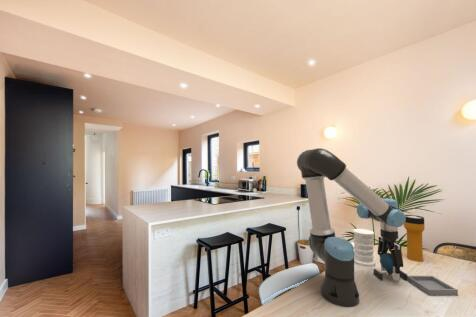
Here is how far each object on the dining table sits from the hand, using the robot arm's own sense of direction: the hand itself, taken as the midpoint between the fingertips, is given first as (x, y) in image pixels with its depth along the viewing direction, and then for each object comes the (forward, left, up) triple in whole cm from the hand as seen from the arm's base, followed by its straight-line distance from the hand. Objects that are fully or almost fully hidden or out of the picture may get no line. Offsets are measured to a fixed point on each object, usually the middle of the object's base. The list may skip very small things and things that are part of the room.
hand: (389, 274), depth 113 cm
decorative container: (-3, +18, -2) cm, 18 cm away
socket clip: (0, 0, -1) cm, 1 cm away
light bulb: (0, 0, -2) cm, 2 cm away
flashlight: (+31, +23, -2) cm, 39 cm away
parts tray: (+12, -9, -1) cm, 16 cm away
